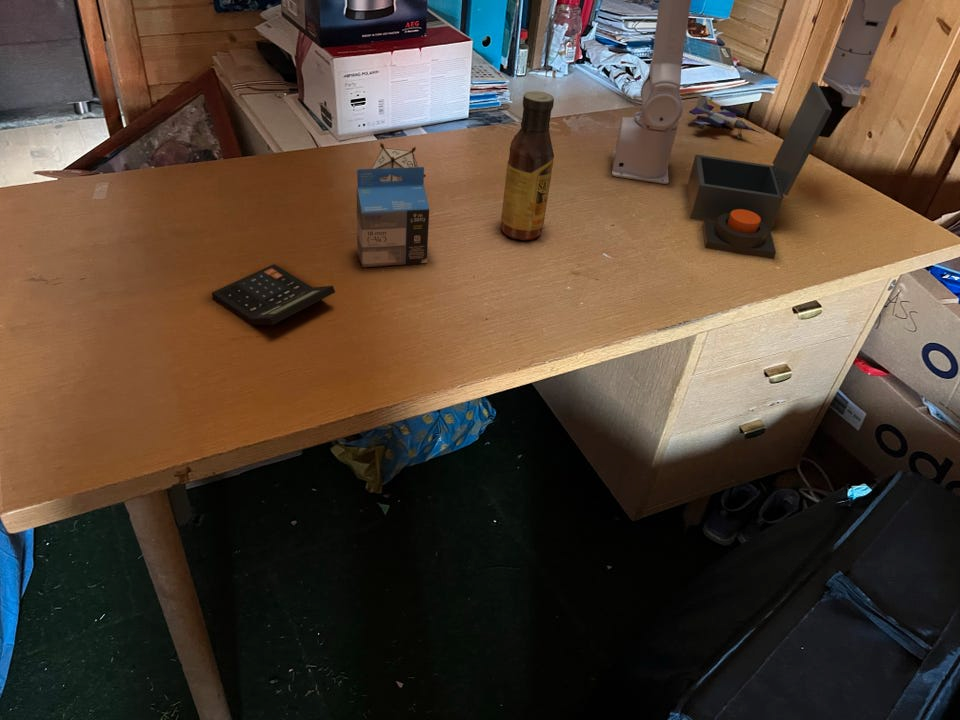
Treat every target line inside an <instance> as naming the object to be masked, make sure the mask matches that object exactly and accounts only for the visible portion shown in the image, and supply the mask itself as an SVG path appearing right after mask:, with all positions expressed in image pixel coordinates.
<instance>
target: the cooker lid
mask: <svg viewBox="0 0 960 720" xmlns="http://www.w3.org/2000/svg"><path fill="white" fill-rule="evenodd" d="M819 86H820V85H819V83H818V82H815V81H812V82H811V84H810V86H809V88H808V90H807V92H806V94H805V96H804V98H803V100H802V102H801V104H800V106H799V108H798V110H797V111H796V114H795V116H794V118H793V120H792V122H791V124H790V127H789V128H788V130H787V133H786V134H785V136H784V138H783V141H782V143H781V144H780V147H779V149H778V151H777V153H776V155H775V156H774V159H773V161H772V166H774V169H775V172H776V175H777V178H778V181H779V184H780V188H781V191H782V194H783V196H788V195H789V193H790V192H791V190H792V188H793V186H794V184H795V182H796V181H797V178H798V176H799V175H800V173H801V171H802V169H803V167H804V165H805V163H806V161H807V159H808V157H809V156H810V153H811V151H812V150H813V148H814V146H815V144H816V142H817V140H818V138H819V137H820V136H819V134H820V132H821V130H822V129H823V127H824V125H825V123H826V121H827V119H828V117H829V115H830V113H831V111H832V110H831V108H830V106H829V104H828V102H827V100H826V98H825V97H824V95H823V93H822V91H821V89H820V87H819Z"/></svg>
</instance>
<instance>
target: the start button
mask: <svg viewBox="0 0 960 720" xmlns="http://www.w3.org/2000/svg"><path fill="white" fill-rule="evenodd" d="M760 221H761V218H760V217H759V216H758V215H757V214H756V213H754V212H751V211H748V210H743V209H736V210H733V211H732V212H731V213H730V216H729V219H728V222H727V225H728V226H729V227H730V228H731V229H733V230H736V231H738V232H742V233H748V234H749V233H756V232H757V230H758V227H759V224H760Z"/></svg>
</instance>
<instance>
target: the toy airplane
mask: <svg viewBox="0 0 960 720" xmlns="http://www.w3.org/2000/svg"><path fill="white" fill-rule="evenodd" d="M713 109H715V106H713V105H710V104H709V103H708V101H707V98H706V97H705V96H703V95H698V99H697V102H696V106H695V108H692V109H691V110H689V111H688V113H689V114H692V115H694V116H696V120H694V122H693V124H695V125H698V127H699V128H700V129H703V128H704V127H705V126H706V127H709V128H713V129H717V130H720V129H721V130H728V131H735V130H734V129H738V130H737V135H736V138H737V139H738V140H741V139H742V138H743V134H742V130H746V131H751V132H756V133H759V134H761V135H764V136H766V134H765V133H763V132H760V131H759V130H756V129H754V128H753V127H751V126H750V125H749V123H748V122H747V121H746V120H745V119H743V118H746V116H745V113H744V112H743V111H741V110H740V109H739V108H737V107H734V106H729V105H720V106H719V109H720V110H718V111H712V110H713ZM703 114H705V115H706V116H704V115H703ZM730 126H731V127H730ZM733 128H734V129H733Z"/></svg>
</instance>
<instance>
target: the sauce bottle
mask: <svg viewBox="0 0 960 720" xmlns="http://www.w3.org/2000/svg"><path fill="white" fill-rule="evenodd" d="M554 101H555V97H554V96H553V95H552V94H550V93H547V92H545V91H539V90H538V91H537V90H534V91H533V90H532V91H527V92H525V93H523V98H522V108H523V109H522V118H521V122H520V129H519V130H518V131H517V133H516V134H515V135H514V136H513V138H512V140H511V142H510V146H509V155H508V160H507V164H506V173H505V181H504V191H503V199H502V208H501V216H500V217H501V223H500V227H501V228H500V229H501V231H502V232H503V233H504V235H505V236H507V237H509V238H511V239H515V240H521V241H530V240H535V239H537V238H538V237H539V236H540V235H541V233H542V232H543V226H544V224H545V220H546V219H545V218H546V212H547V205H548V199H549V192H550V185H551V179H552V172H553V167H554V159H555V154H554V149H553V144H552V139H551V134H550V127H551V126H550V123H551V115H552V111H553V109H554V104H555V103H554Z"/></svg>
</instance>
